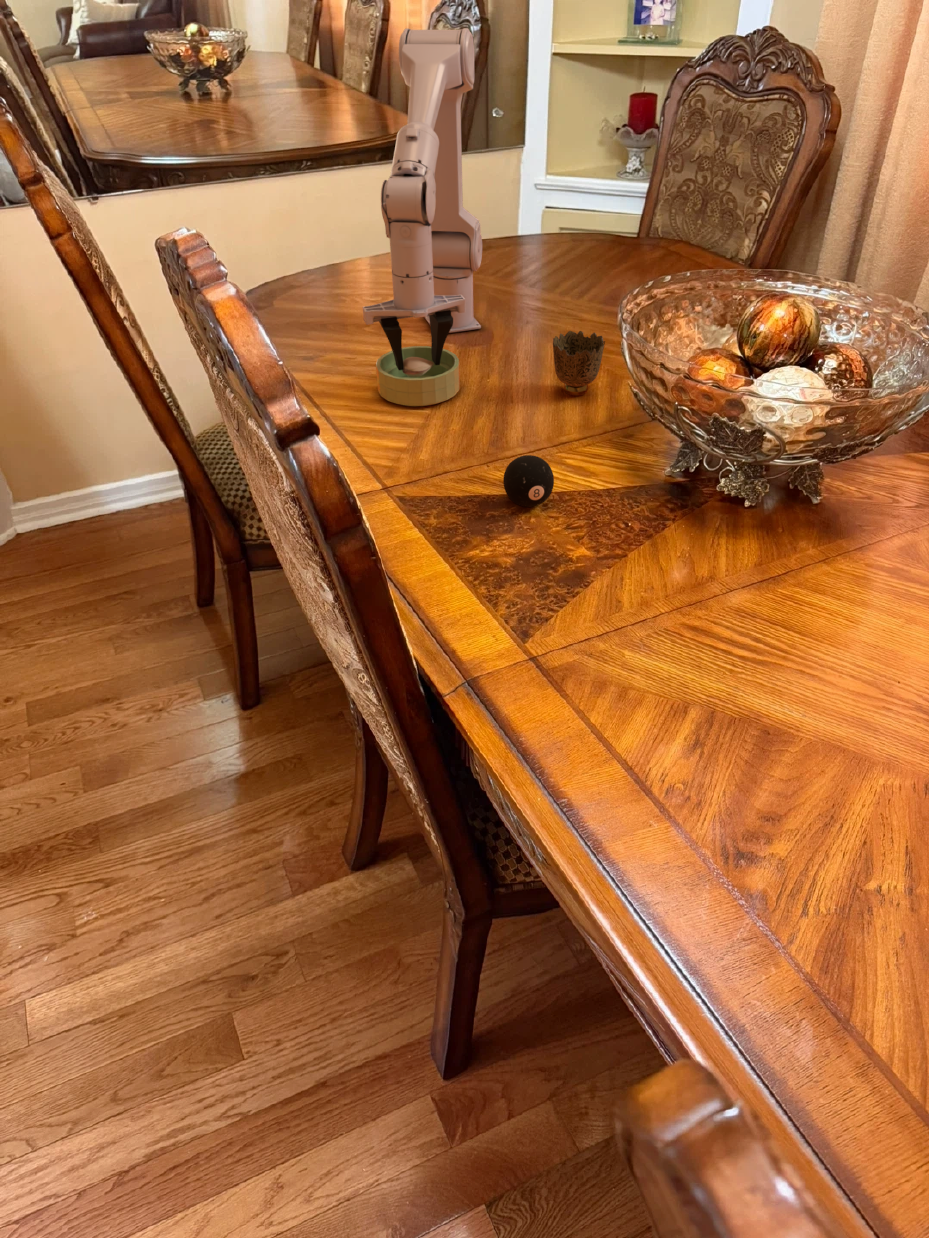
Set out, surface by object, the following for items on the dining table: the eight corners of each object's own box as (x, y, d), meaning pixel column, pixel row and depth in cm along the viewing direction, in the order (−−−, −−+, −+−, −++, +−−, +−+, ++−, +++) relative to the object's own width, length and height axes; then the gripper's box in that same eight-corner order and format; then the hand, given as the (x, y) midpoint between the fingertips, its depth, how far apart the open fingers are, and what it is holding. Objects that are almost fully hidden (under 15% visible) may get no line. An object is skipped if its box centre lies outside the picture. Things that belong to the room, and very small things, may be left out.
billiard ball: (512, 519, 106) (512, 475, 102) (497, 494, 110) (497, 450, 106) (559, 511, 107) (562, 467, 103) (542, 486, 111) (544, 443, 108)
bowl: (371, 380, 137) (368, 352, 134) (447, 369, 140) (446, 341, 137) (388, 414, 128) (385, 384, 125) (469, 402, 130) (468, 373, 128)
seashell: (398, 371, 133) (397, 355, 131) (430, 366, 134) (429, 349, 133) (407, 382, 130) (406, 366, 128) (439, 377, 131) (438, 360, 129)
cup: (542, 397, 131) (544, 345, 126) (562, 378, 136) (564, 327, 131) (589, 407, 128) (593, 353, 123) (607, 387, 133) (612, 335, 128)
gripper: (366, 286, 118) (375, 382, 127) (471, 274, 121) (472, 369, 130) (356, 270, 123) (365, 363, 132) (456, 258, 126) (459, 350, 135)
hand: (417, 365), depth 131 cm, fingers closed on seashell, 5 cm apart
